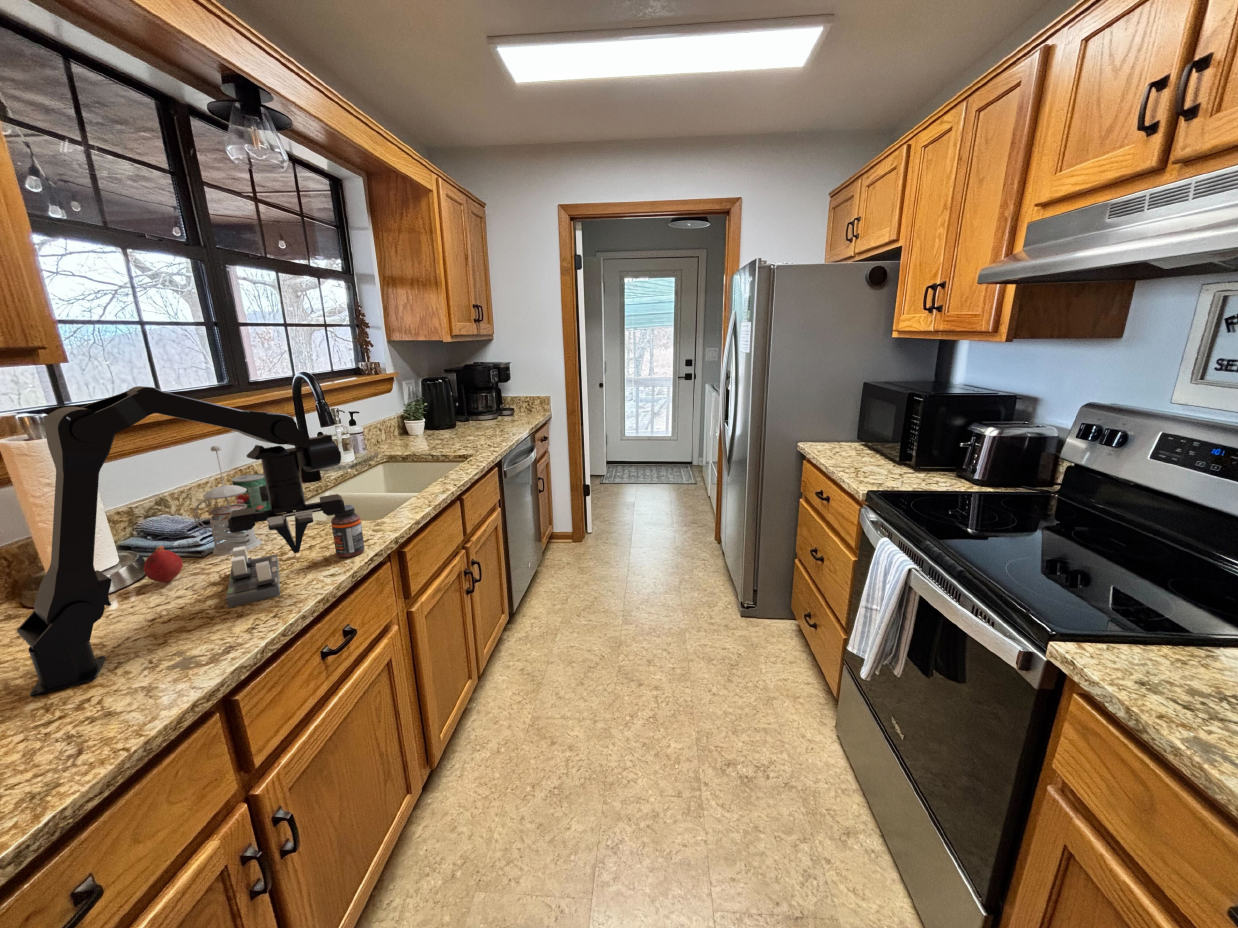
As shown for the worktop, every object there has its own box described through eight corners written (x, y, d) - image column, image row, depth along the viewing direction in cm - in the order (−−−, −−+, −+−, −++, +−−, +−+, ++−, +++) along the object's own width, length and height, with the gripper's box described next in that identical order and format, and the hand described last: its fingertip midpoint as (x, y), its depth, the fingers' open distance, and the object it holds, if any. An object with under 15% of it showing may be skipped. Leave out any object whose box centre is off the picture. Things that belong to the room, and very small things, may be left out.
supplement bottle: (330, 555, 114) (322, 509, 111) (354, 546, 119) (347, 501, 116) (347, 560, 111) (339, 513, 108) (370, 550, 116) (364, 505, 113)
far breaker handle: (251, 565, 104) (247, 549, 103) (233, 568, 102) (229, 552, 101) (251, 560, 106) (248, 544, 105) (234, 563, 105) (230, 547, 104)
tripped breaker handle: (274, 581, 96) (271, 564, 96) (256, 586, 95) (252, 568, 94) (274, 575, 99) (271, 559, 98) (256, 580, 97) (252, 563, 96)
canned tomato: (279, 509, 145) (272, 473, 143) (257, 519, 138) (249, 481, 135) (255, 508, 146) (248, 473, 144) (232, 518, 139) (224, 480, 136)
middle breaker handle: (250, 575, 99) (246, 559, 98) (231, 579, 97) (227, 563, 96) (250, 570, 101) (247, 554, 100) (232, 574, 100) (228, 557, 99)
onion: (163, 590, 98) (153, 553, 96) (140, 588, 99) (130, 551, 97) (193, 577, 104) (184, 542, 102) (171, 575, 105) (162, 540, 103)
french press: (255, 550, 117) (233, 447, 111) (194, 559, 113) (169, 452, 106) (266, 536, 126) (247, 439, 119) (211, 543, 121) (188, 444, 115)
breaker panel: (279, 595, 96) (278, 585, 96) (228, 607, 92) (226, 597, 91) (278, 562, 110) (276, 553, 110) (233, 571, 106) (231, 562, 106)
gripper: (333, 462, 107) (344, 530, 110) (225, 476, 96) (240, 550, 100) (339, 473, 98) (350, 546, 102) (220, 489, 87) (237, 570, 91)
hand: (296, 552), depth 99 cm, fingers closed
